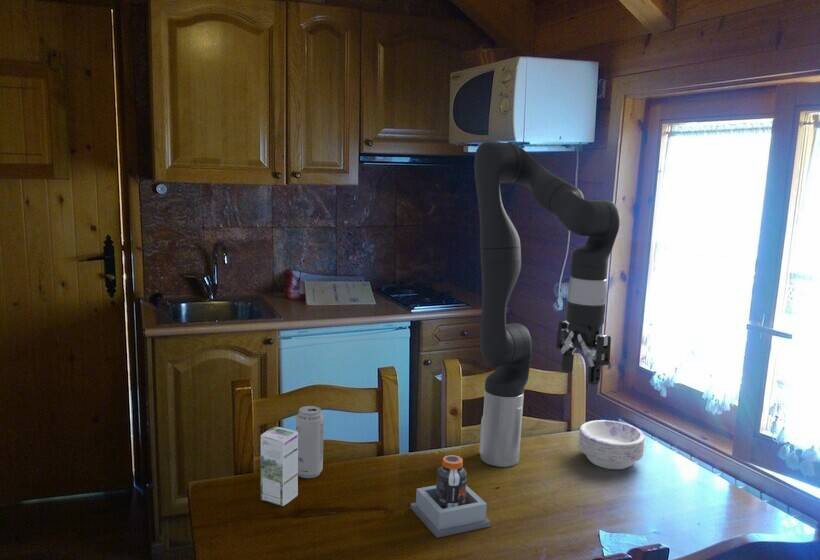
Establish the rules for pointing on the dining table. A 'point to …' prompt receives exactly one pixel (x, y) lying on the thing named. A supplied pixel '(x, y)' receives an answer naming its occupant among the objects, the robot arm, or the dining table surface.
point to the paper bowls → (611, 443)
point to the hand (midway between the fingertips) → (579, 377)
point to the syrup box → (279, 465)
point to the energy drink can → (310, 441)
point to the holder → (450, 513)
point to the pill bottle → (451, 482)
